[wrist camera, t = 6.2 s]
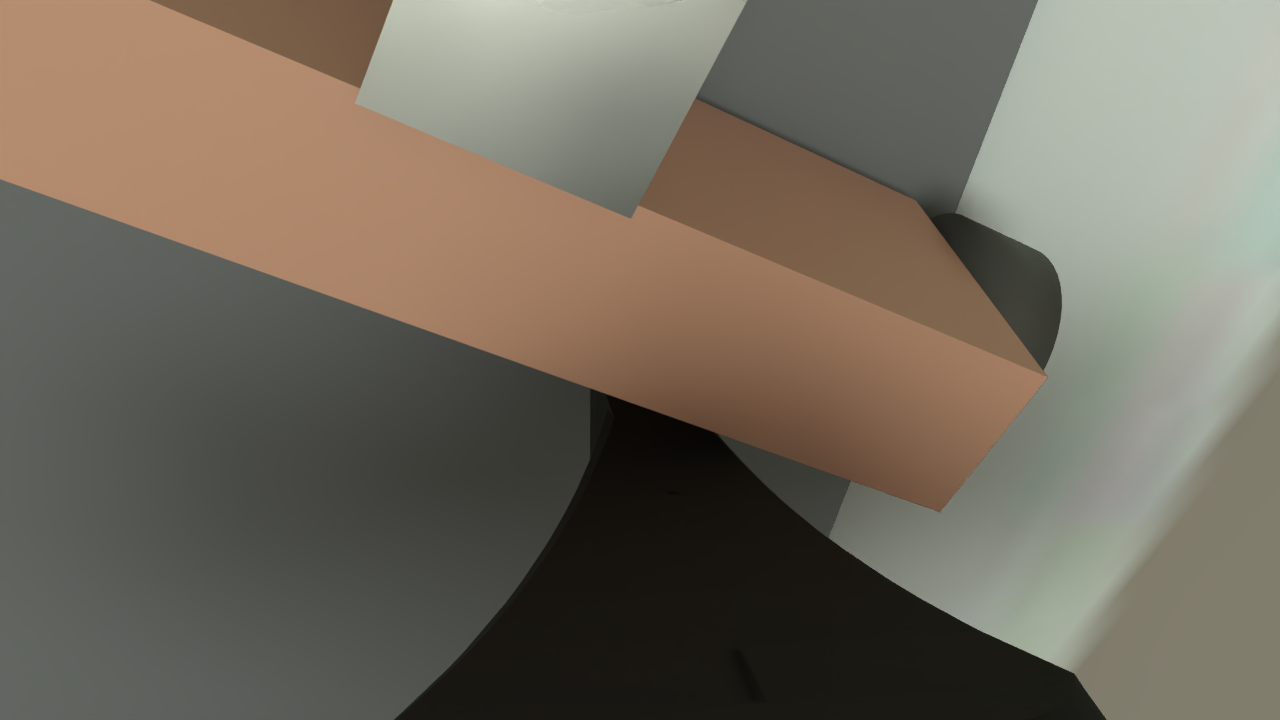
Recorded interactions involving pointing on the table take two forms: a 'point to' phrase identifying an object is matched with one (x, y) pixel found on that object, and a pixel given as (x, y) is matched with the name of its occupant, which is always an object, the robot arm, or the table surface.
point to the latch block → (551, 83)
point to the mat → (360, 418)
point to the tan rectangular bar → (544, 236)
